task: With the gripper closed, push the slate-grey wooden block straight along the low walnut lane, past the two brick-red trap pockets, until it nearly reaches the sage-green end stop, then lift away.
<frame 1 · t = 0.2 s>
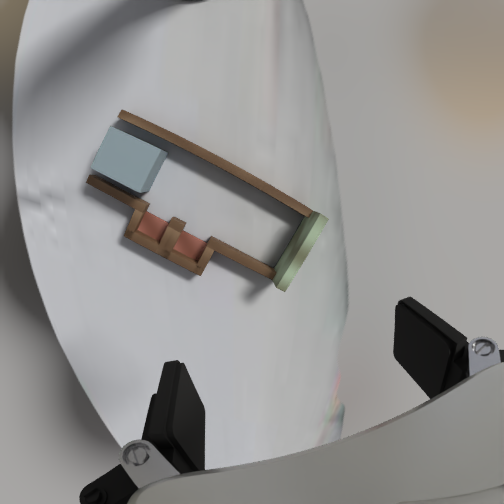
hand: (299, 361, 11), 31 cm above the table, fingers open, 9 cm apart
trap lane: (194, 191, 38), on the table
slate block: (135, 160, 36), on the table
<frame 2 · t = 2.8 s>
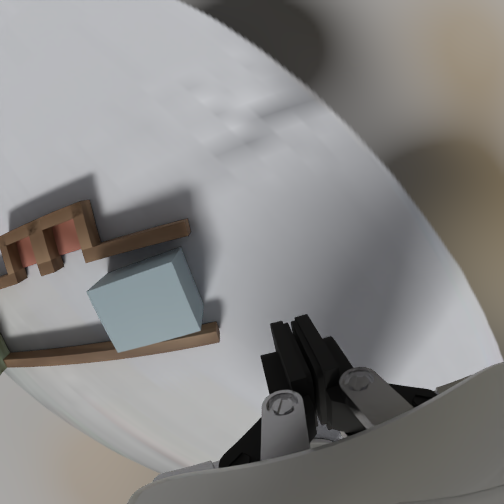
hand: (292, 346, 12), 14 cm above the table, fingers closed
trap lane: (72, 308, 25), on the table
slate block: (154, 289, 26), on the table
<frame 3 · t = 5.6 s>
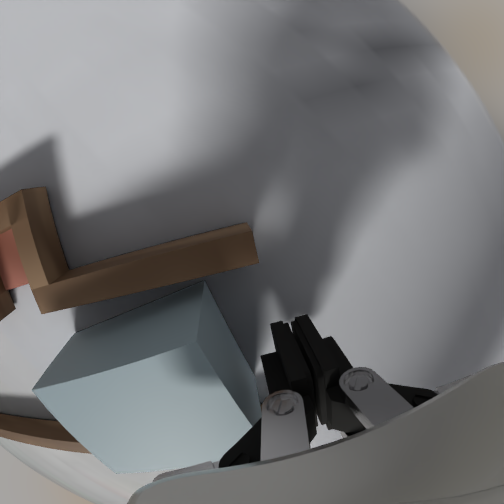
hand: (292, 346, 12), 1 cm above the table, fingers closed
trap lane: (39, 373, 13), on the table
slate block: (160, 358, 13), on the table, touching gripper
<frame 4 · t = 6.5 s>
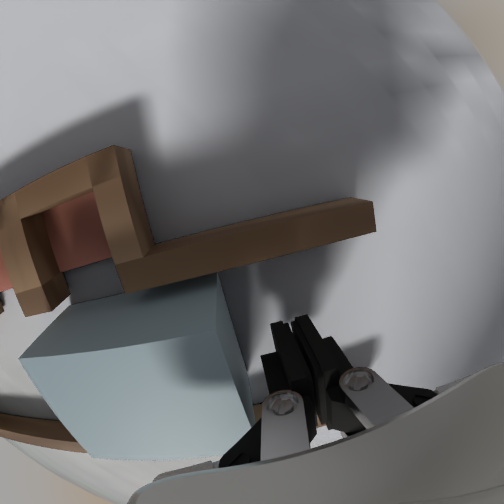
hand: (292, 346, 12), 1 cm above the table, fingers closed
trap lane: (92, 369, 13), on the table
slate block: (156, 344, 13), on the table, touching gripper
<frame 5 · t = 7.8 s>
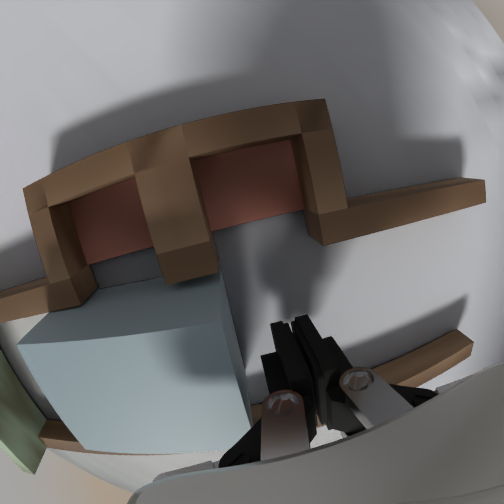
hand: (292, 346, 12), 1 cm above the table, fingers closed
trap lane: (223, 348, 13), on the table
slate block: (154, 337, 13), on the table
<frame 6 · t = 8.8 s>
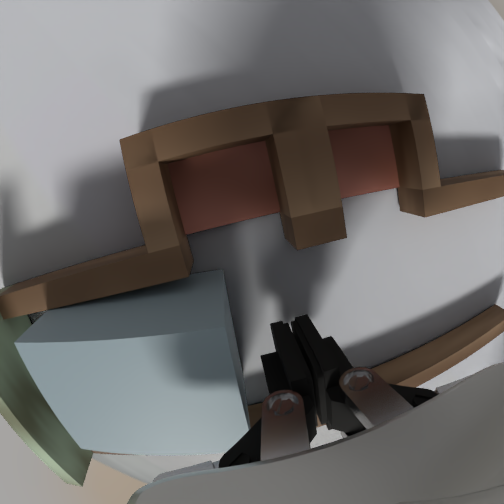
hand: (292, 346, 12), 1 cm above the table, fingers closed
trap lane: (320, 321, 13), on the table
slate block: (153, 338, 13), on the table
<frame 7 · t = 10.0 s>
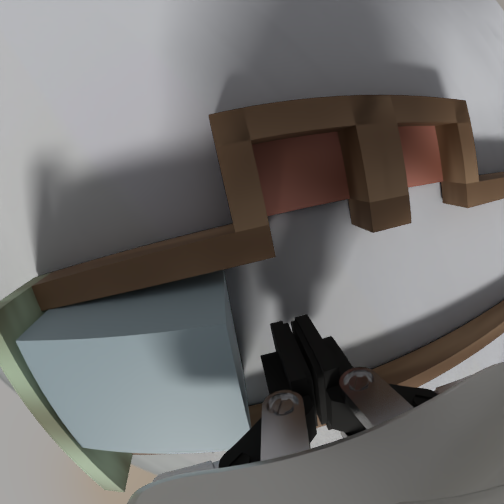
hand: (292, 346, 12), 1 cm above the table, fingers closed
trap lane: (376, 304, 14), on the table
slate block: (154, 337, 13), on the table, touching gripper
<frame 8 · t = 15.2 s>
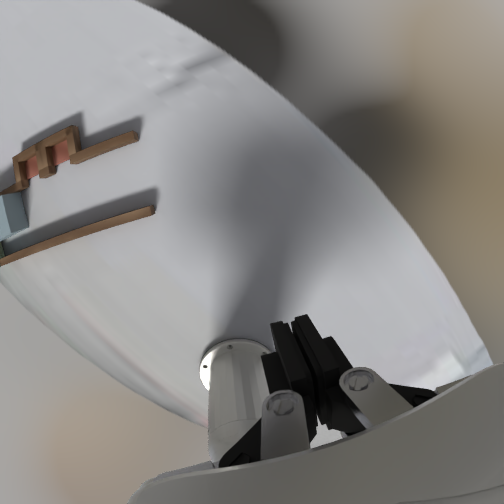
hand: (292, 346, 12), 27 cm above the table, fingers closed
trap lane: (57, 204, 34), on the table
slate block: (10, 217, 33), on the table
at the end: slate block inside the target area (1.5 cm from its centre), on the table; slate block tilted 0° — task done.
